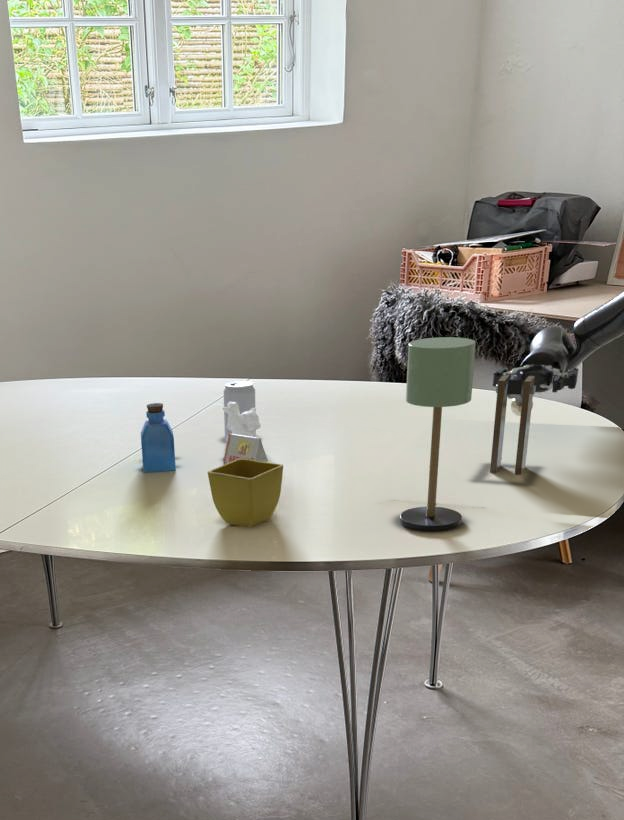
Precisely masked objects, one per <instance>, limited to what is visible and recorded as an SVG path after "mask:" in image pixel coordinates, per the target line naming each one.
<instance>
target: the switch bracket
mask: <svg viewBox="0 0 624 820" xmlns="http://www.w3.org/2000/svg"><path fill="white" fill-rule="evenodd" d="M534 381H535V376H528V378H527V379H526V380H525V381H524V388H523V398H522V407H521V416H519V427H518V428H519V429H518V437H517V438H518V439H517V447H516V456H515V459H516V460H515V467H514V475H522V473H523V472H524V470H525V468H526V464H527V463H526V462H527V453H528V446H529V445H528V443H529V437H530V436H529V435H530V427H531V419H532V418H531V417H532V416H531V415H532V410H533V408H532V401H533V399H534V395H535V393H536V392H535V390H536V386H534ZM508 382H509V375H503V376H502V377H501V378H500V379H499V381H498V384H497V386H496V387H495V394H496V400H495V401H496V402H495V412H494V423H493V424H494V425H493V435H492V444H491V455H490V459H491V460H490V466H489V469H490V470H489V473H490V474H491V473H492V474H496V473H497V472H498V471H499V469H500V468H501V466H502V459H503V457H502V456H503V447H504V436H505V427H506V426H505V425H506V415H507V405H508V396H507V388H508ZM531 409H532V410H531Z"/></svg>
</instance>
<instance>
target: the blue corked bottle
mask: <svg viewBox="0 0 624 820" xmlns="http://www.w3.org/2000/svg"><path fill="white" fill-rule="evenodd" d="M146 409H147V411H146V412H145V413H146V415H145V416H146V418H147V420H145V421H144V423H143V426H142V429H141V431H140V444H141V445H140V447H141V458H142V470H143V473H156V472H169V471H176V470H177V468H176V452H175V451H176V450H175V436H174V431H173V429H172V427H171V425H170V423H169V422H168V420H167V419H166V418H165V419H164V417H165V416H166V415H165V414H166V412H165V410H164V403H161V402H153V403H148V404H146Z"/></svg>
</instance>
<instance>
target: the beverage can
mask: <svg viewBox="0 0 624 820" xmlns="http://www.w3.org/2000/svg"><path fill="white" fill-rule="evenodd" d="M224 386H225V388H224V389H223V408H224V407H227V404H228V402H230V401H231V402H236V403H238V406H239V411H240V415H241V414H242V413H243V412H246V411H250V410H251V409H252V408H256V388H255V387H254V383H253V382H252V381H246V380H239V381H230V382H227V383H225V385H224ZM227 408H228V407H227ZM228 416H229V415H228V413H226V412H225V411H224V410H223V417H224V440H225V442H227V436H228V435H229V434H230V433H231V434H232V431H231V430H229V429H228V428H227V423H228ZM254 431H255V434H254V436H253V437H256V438H257V429H256V430H254Z"/></svg>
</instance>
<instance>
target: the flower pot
mask: <svg viewBox="0 0 624 820" xmlns="http://www.w3.org/2000/svg"><path fill="white" fill-rule="evenodd" d="M283 474H284V464H282V463H281V464H280V463H275V462H269V461H268V462H260V461H254V460H248V459H237V460H235V461H232V462H230V463H228V464H225V465H224V464H223V465H221V466H220V465H219V466H217V467H215V468H213V469H210V470H207V477H208V483H209V487H210V493H211V498H212V502H213V504H214V507H215V510H216V511H217V513H218V514H219V516H220V518H221V519H222V520H223V521H224V523H225V524H227V525H232V526H237V527H241V526H242V527H247V528H253V527H255V526H257V525H259V524H261V523H264V522H267V521H269V520H270V518H271V517H272V515H273V514H274V512H275V510H276V508H277V506H278V503H279V501H280V497H281V493H282V482H283Z"/></svg>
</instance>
